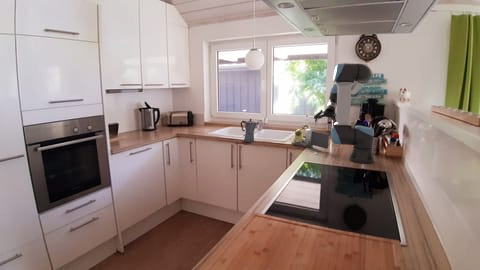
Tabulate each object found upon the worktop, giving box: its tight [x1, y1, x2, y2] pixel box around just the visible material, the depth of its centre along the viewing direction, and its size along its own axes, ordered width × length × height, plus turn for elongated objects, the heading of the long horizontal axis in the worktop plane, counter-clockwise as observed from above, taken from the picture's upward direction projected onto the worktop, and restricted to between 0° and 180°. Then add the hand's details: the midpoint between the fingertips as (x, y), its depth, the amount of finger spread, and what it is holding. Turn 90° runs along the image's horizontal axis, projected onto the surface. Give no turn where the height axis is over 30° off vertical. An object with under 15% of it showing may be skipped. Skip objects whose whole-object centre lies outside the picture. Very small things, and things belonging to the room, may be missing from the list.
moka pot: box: [240, 118, 258, 143], centre depth 241 cm, size 10×15×20 cm, turn 78°
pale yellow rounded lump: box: [291, 128, 306, 147], centre depth 233 cm, size 10×10×13 cm
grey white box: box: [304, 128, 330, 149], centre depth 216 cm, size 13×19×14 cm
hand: (324, 127), depth 213 cm, fingers open, 13 cm apart
